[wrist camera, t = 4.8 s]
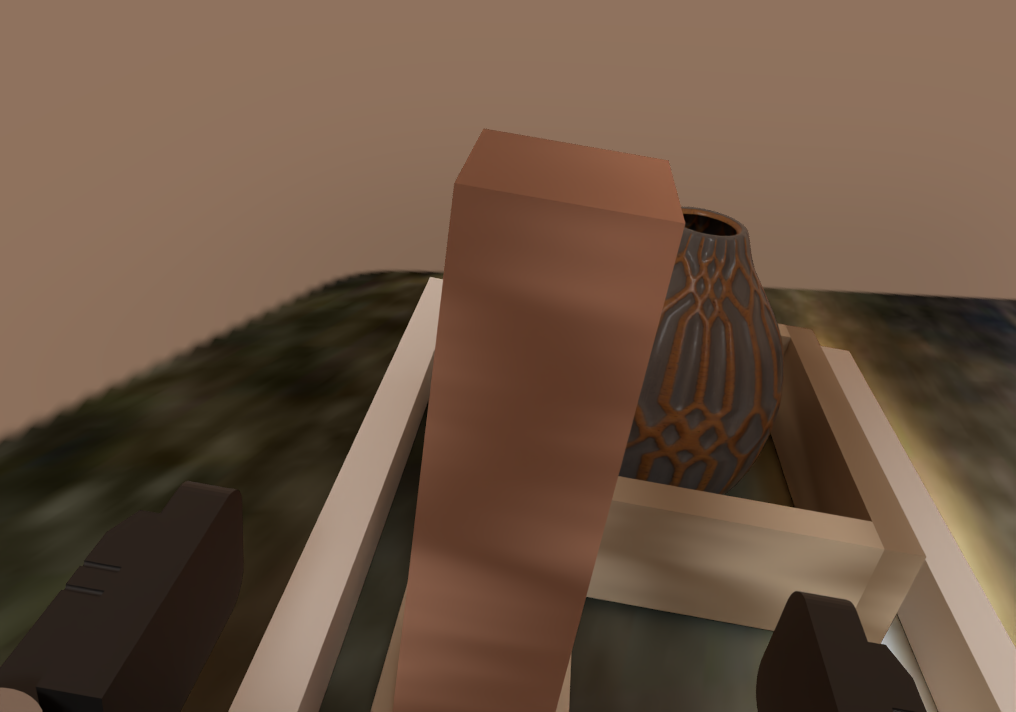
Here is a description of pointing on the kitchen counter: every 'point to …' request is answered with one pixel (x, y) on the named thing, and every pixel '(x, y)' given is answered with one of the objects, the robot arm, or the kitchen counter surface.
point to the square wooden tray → (600, 448)
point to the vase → (708, 366)
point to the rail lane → (375, 478)
